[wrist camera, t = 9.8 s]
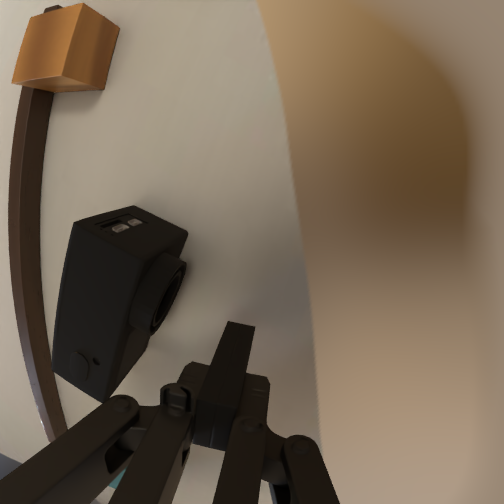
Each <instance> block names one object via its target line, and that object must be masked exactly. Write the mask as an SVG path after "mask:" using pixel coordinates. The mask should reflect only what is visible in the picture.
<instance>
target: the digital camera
mask: <svg viewBox="0 0 504 504" xmlns="http://www.w3.org/2000/svg"><path fill="white" fill-rule="evenodd" d="M187 236H188V232H187V231H186V230H184V229H182V228H180V227H178V226H176V225H174V224H171V223H169V222H167V221H165V220H163V219H161V218H159V217H157V216H155V215H153V214H151V213H149V212H147V211H145V210H143V209H140V208H138V207H136V206H134V205H133V206H129V207H125V208H122V209H118V210H114V211H110V212H106V213H103V214H99V215H95V216H92V217H88V218H85V219H82V220H79V221H76V222H74V223H73V227H72V231H71V235H70V239H69V244H68V248H67V253H66V257H65V262H64V267H63V273H62V278H61V284H60V290H59V297H58V304H57V311H56V319H55V327H54V338H53V350H52V366H51V369H52V371H53V372H55V373H56V374H58V375H59V376H61V377H62V378H63V379H65V380H66V381H68V382H69V383H71V384H72V385H74V386H75V387H77V388H78V389H80V390H82V391H83V392H85V393H86V394H88V395H89V396H91V397H93V398H94V399H96V400H98V401H99V402H101V403H104V402H105V401H106V400H108V399H109V398H110V396H111V395H112V394H113V392H114V391H115V390H116V388H117V387H118V386H119V384H120V383H121V382H122V380H123V379H124V378H125V377H126V375H127V374H128V373H129V371H130V370H131V369H132V367H133V366H134V365H135V363H136V362H137V361H138V360H139V358H140V357H141V356H142V354H143V353H144V352H145V350H146V347H147V344H148V341H149V338H150V336H151V335H153V334H154V333H155V332H156V331H157V330H158V328H159V327H160V325H161V324H162V322H163V321H164V319H165V317H166V315H167V314H168V312H169V310H170V308H171V306H172V304H173V302H174V300H175V298H176V296H177V293H178V291H179V289H180V286H181V284H182V281H183V278H184V275H185V271H186V262H184V261H182V260H180V259H179V256H180V254H181V251H182V248H183V246H184V243H185V241H186V238H187Z"/></svg>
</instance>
